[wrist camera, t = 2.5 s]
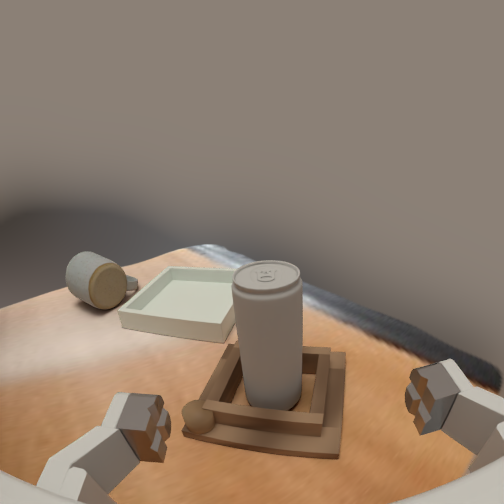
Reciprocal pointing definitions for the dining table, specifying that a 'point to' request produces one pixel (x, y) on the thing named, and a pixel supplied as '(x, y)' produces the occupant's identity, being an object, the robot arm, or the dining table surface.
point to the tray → (184, 304)
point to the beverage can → (269, 332)
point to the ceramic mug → (98, 280)
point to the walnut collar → (271, 410)
